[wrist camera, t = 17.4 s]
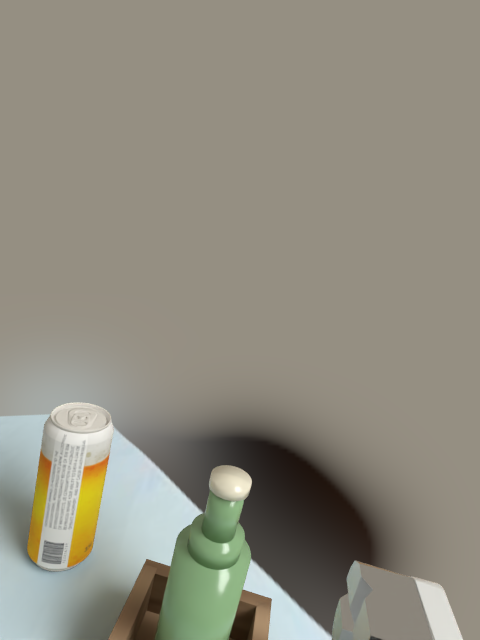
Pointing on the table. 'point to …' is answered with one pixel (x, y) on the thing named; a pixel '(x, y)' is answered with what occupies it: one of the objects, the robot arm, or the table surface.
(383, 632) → the robot arm
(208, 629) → the bottle
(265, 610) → the tray
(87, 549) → the beer can
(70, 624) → the table surface
